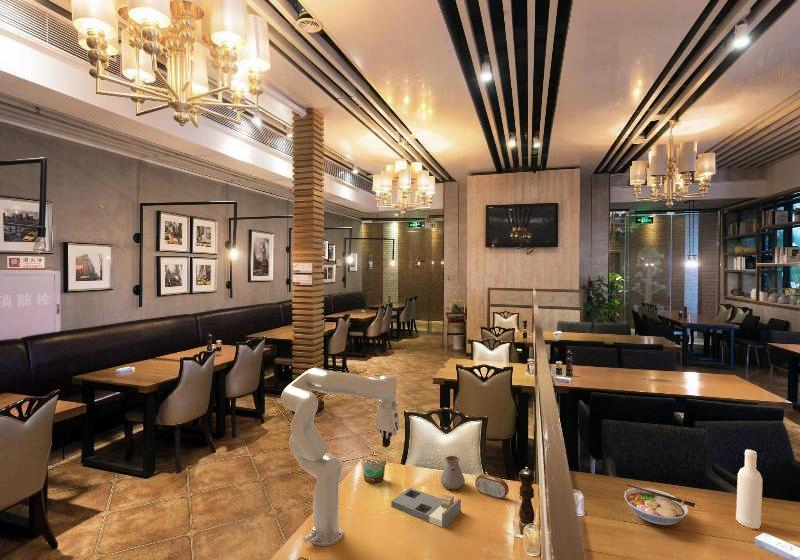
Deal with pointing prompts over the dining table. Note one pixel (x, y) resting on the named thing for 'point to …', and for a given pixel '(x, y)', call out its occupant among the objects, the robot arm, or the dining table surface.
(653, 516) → the ramen bowl
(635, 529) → the dining table surface
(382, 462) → the food container
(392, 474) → the dining table surface
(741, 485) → the bottle
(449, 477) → the coffee pot
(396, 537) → the dining table surface
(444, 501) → the block
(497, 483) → the tin
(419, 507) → the board
